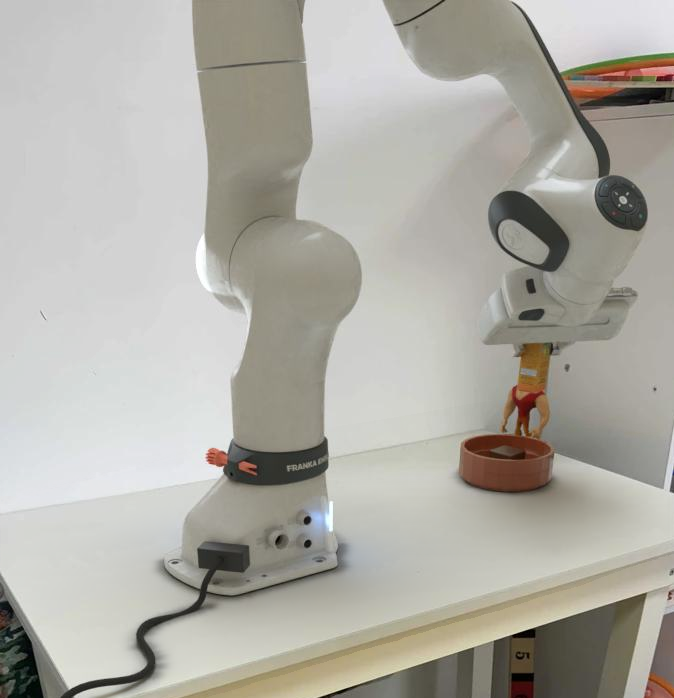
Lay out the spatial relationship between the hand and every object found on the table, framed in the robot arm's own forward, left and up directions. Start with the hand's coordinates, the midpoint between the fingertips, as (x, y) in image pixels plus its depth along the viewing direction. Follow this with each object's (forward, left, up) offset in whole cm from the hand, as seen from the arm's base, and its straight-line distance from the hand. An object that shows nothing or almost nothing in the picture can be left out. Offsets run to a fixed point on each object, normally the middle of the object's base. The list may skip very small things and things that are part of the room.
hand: (533, 352), depth 127 cm
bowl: (-1, +3, -19) cm, 20 cm away
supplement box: (0, -1, -6) cm, 6 cm away
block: (-1, +2, -19) cm, 19 cm away
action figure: (+12, +9, -20) cm, 25 cm away
